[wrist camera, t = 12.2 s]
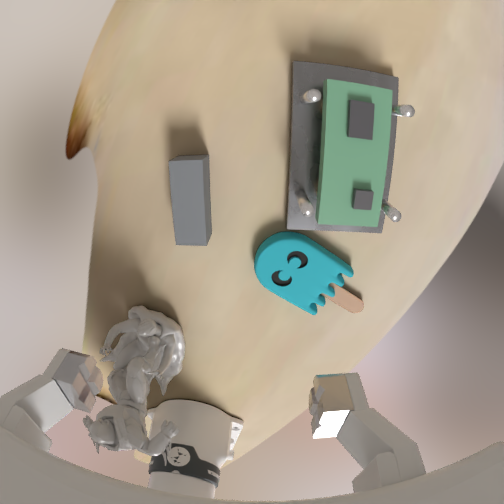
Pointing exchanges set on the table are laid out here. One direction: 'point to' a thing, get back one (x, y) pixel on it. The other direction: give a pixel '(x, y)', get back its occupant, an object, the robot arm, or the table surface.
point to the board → (353, 153)
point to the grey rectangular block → (191, 199)
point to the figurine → (138, 381)
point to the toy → (304, 272)
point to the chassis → (309, 141)
